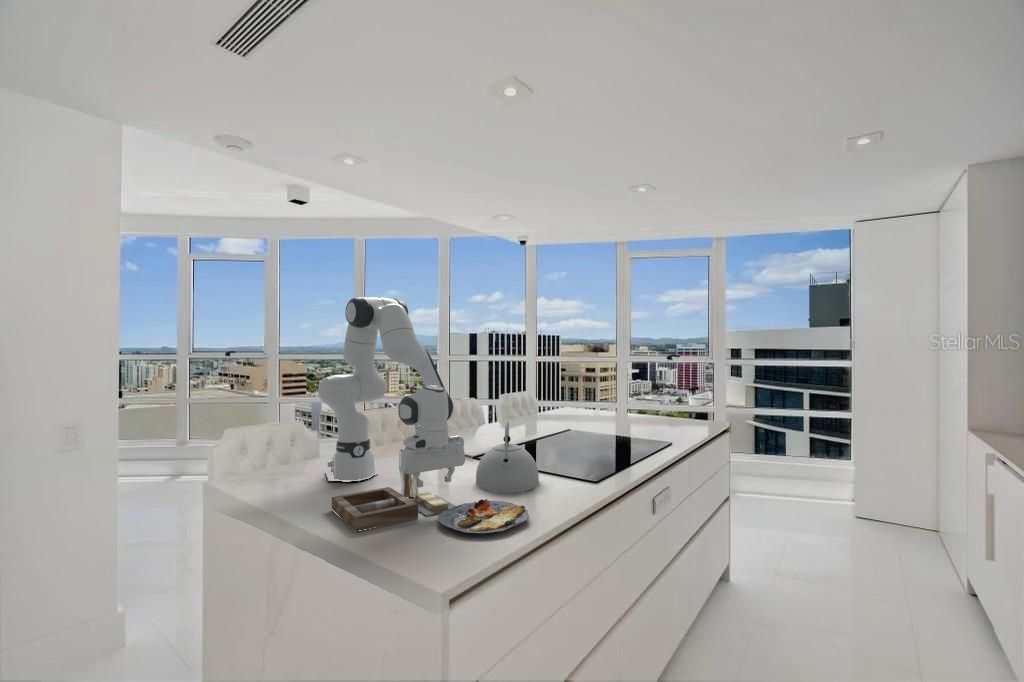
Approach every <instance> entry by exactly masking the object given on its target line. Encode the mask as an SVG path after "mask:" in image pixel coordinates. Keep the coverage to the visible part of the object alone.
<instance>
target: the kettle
mask: <svg viewBox="0 0 1024 682" xmlns="http://www.w3.org/2000/svg"><path fill="white" fill-rule="evenodd" d="M504 425H505V426H504V436H503V442H504V443H501V444H497V445H495V446H493V447H492V448H490V449H488V451H486V453H484V455H482V456H481V458H480V460H479V462H478V465H477V468H476V471H475V472H476V473H475V474H476V475H475V486H476V485H477V486H478V487H477V486H476V487H477V488H479V489H481V490H483V489H484V490H483V491H487V490H488V491H487V492H493V491H494V492H493V493H518V492H519V491H520V492H525V491H524V490H526V491H529V489H530V490H533V489H535V488H537V487H538V486H539V485H540V480H539V469H538V466H537V463H536V460H535V459H534V457H533V456H532V455H531V454H530V453H529V451H527V450H526V449H525V448H524V447H522V446H520V445H518V444H513V443H510V442H511V440H512V439H511V436H510V427H509V426H510V423H509V420H508V419H506V420H505V424H504ZM536 486H537V487H536ZM532 488H533V489H532Z"/></svg>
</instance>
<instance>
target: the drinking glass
mask: <svg viewBox="0 0 1024 682" xmlns="http://www.w3.org/2000/svg"><path fill="white" fill-rule="evenodd" d="M403 449H404V448H401V449H399V453H398V470H399V476H400V483H401V489H400V494H402V495H403V496H405V497H414V496H415V494H420V491H419V488H418V487H417V486H416V480H415V478H414V477H413V474H405V473H403V472H402V470H401V456H402V451H403ZM418 477H419V478H420V476H418ZM414 498H415V497H414Z"/></svg>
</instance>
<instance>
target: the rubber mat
mask: <svg viewBox="0 0 1024 682" xmlns="http://www.w3.org/2000/svg"><path fill="white" fill-rule="evenodd" d="M433 495H434V496H436V497H438V498H440V499H442V500H443V501H445V502H447V503H448V509H450V508H453V507H456V506H457V505H455V504H454V503H451V502H449V501H447V500H446V499H444V498H443V497H440V496H438V495H436V494H433ZM411 500H412V501H413V502H415V503H417V504H418V511H419V512H418V513H420V512H421V513H422V515H423V516H424V515H425V516H424V517H426V518H427V517H431V515H432V516H435V515H440V514H441V513H442V512H443V511H445V510H442V511H438V512H434V511H432V510H431V509H429V508H427V507H426V506H424V505H422V504H421V503H419V502H417V501H416V500H415V498H414V499H411ZM448 509H447V510H448ZM421 513H420V514H421Z"/></svg>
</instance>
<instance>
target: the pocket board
mask: <svg viewBox="0 0 1024 682" xmlns="http://www.w3.org/2000/svg"><path fill="white" fill-rule="evenodd" d="M412 500H413V499H411V498H407V497H405V496H403V495H402V494H401V492H398V491H397V490H395V489H393V488H392V487H390V486H386V487H381V488H376V489H370V490H369V489H368V490H364V491H359V492H358V491H357V492H352V493H347V494H342V495H336V496H331V510H332V509H333V510H334V511H335V512H336V513H337V514H338V515H339V516H340V517H341V518H342V519H343V520H344V521H345V522H346V523H347V524H348V525H349V526H350V527H351V528H352V529H353V530H354V531H359V530H364V529H369V528H373V529H375V528H374V527H378V528H380V527H379V526H382V527H386V526H385V525H387V526H391V525H395V523H396V524H398V523H399V522H400V523H404V521H405V522H409V521H414V520H418V519H419V512H418V504H417V503H415V502H413V501H412ZM417 518H418V519H417ZM413 519H414V520H413ZM345 522H344V523H345ZM346 523H345V524H346ZM400 523H399V524H400ZM347 524H346V525H347ZM390 524H391V525H390ZM348 525H347V526H348ZM349 526H348V527H349ZM350 527H349V528H350ZM351 528H350V529H351ZM352 529H351V530H352ZM353 530H352V531H353ZM369 530H370V529H369ZM354 531H353V532H354ZM364 531H365V530H364Z"/></svg>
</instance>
